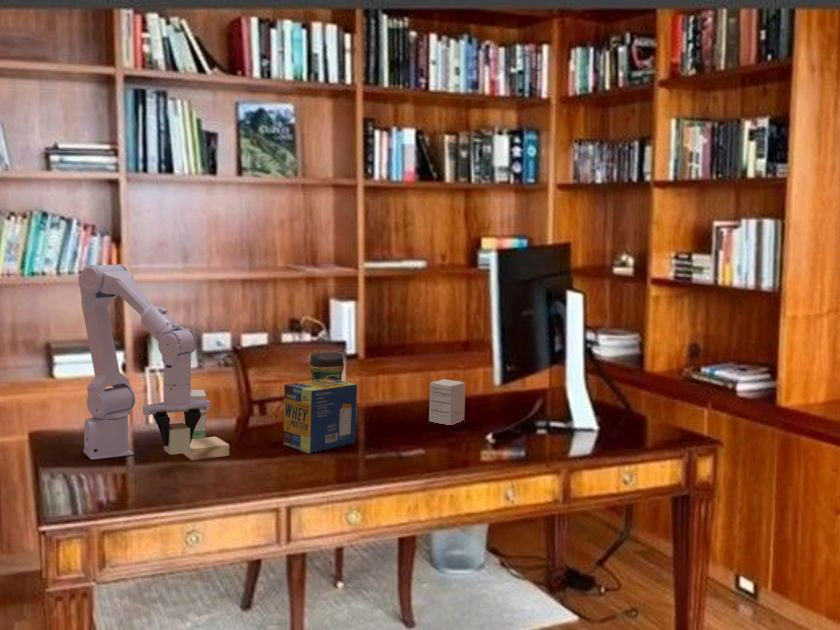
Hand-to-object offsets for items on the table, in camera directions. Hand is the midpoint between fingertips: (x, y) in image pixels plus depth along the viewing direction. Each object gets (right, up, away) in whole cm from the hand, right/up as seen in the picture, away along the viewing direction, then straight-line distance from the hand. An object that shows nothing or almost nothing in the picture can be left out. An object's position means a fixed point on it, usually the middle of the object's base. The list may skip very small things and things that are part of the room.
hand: (176, 444), depth 192 cm
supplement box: (+61, -3, +47) cm, 77 cm away
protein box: (+29, -4, +23) cm, 38 cm away
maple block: (+3, -4, +12) cm, 13 cm away
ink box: (-3, -3, +26) cm, 26 cm away
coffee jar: (+27, -1, +55) cm, 62 cm away
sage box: (0, -2, 0) cm, 2 cm away
